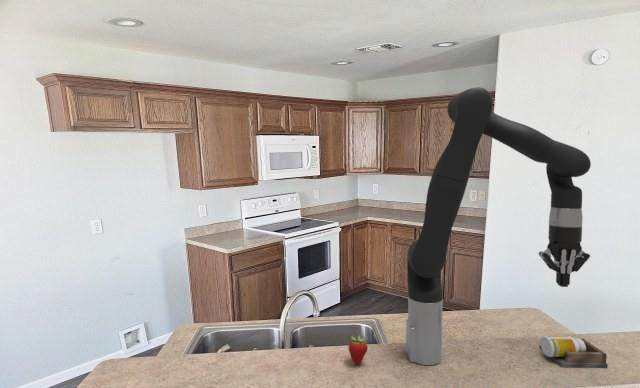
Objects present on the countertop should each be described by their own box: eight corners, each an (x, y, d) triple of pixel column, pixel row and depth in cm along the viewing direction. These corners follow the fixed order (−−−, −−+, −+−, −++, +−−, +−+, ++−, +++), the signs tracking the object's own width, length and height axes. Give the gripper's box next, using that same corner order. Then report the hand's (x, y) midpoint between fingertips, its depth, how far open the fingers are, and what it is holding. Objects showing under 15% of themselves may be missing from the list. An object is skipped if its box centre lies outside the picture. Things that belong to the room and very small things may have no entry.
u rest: (560, 367, 95) (561, 354, 94) (539, 348, 105) (539, 337, 104) (607, 368, 94) (608, 355, 94) (581, 349, 104) (581, 337, 104)
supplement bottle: (550, 361, 96) (586, 361, 96) (553, 343, 95) (589, 343, 95) (538, 348, 102) (573, 348, 102) (541, 331, 101) (575, 331, 100)
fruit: (367, 359, 99) (367, 331, 99) (367, 369, 94) (367, 340, 94) (349, 358, 100) (348, 330, 100) (348, 368, 95) (348, 339, 94)
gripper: (548, 225, 94) (546, 290, 95) (600, 226, 93) (597, 290, 94) (532, 222, 101) (530, 281, 102) (580, 222, 101) (578, 282, 102)
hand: (562, 286), depth 98 cm, fingers closed
